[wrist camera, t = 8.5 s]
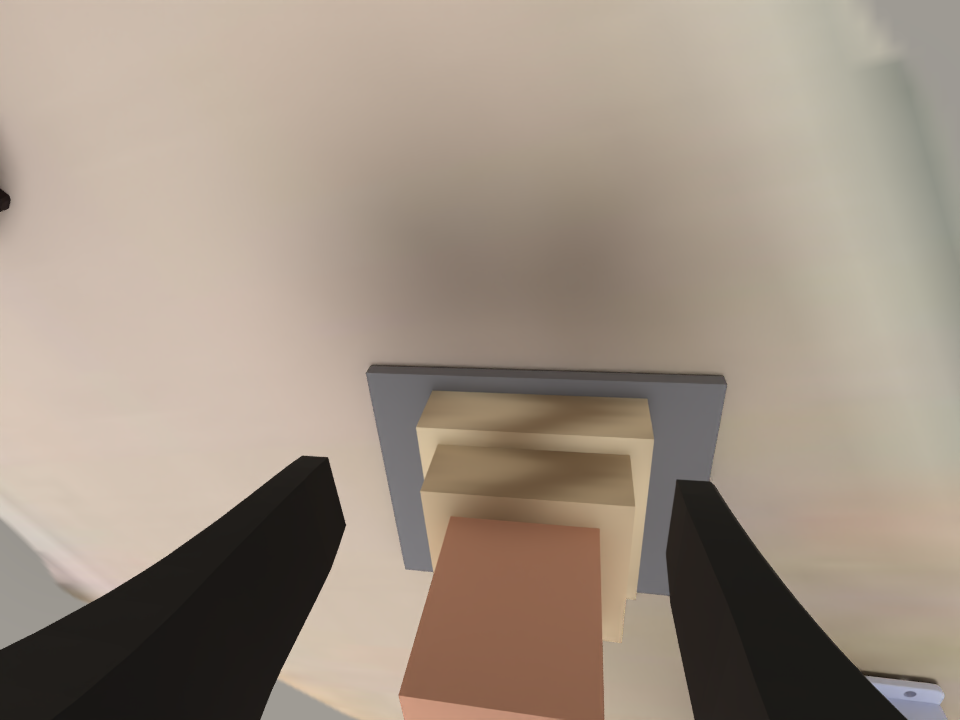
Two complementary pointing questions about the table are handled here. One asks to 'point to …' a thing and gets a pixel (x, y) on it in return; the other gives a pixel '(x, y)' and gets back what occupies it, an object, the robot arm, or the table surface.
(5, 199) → the mate gourd
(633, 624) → the table surface
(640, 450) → the oak slab base
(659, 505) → the mat
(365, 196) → the table surface
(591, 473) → the oak slab top
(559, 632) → the terracotta block
